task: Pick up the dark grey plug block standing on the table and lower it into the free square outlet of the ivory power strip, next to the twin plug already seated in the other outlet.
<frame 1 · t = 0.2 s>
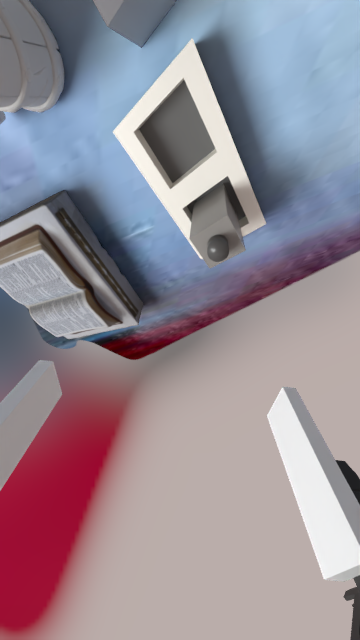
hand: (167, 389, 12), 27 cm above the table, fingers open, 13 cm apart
bible: (74, 270, 41), on the table
mug: (22, 76, 22), on the table
twin plug: (215, 208, 29), resting on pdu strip
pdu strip: (199, 174, 27), on the table
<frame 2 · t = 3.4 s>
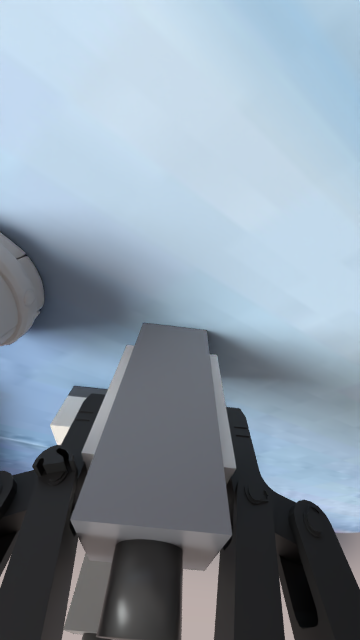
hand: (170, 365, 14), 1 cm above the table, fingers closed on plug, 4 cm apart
plug: (172, 351, 15), on the table, touching gripper
twin plug: (131, 477, 24), resting on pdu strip
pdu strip: (132, 447, 22), on the table
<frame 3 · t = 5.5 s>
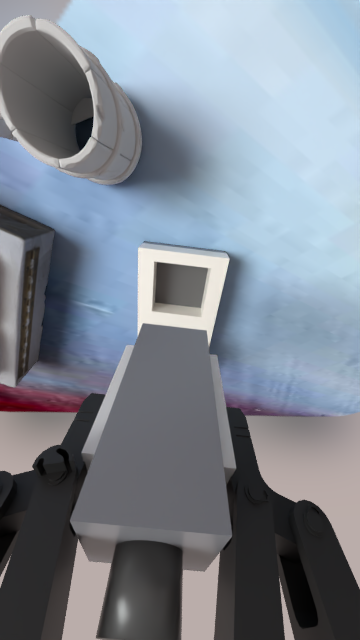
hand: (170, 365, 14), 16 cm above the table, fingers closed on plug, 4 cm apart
plug: (171, 351, 15), point 15 cm above the table, touching gripper
mug: (86, 139, 21), on the table
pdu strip: (177, 310, 30), on the table
when the fingers open (5 cm above the table, at t = 7.5 s): plug drops 3 cm, resting on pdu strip.
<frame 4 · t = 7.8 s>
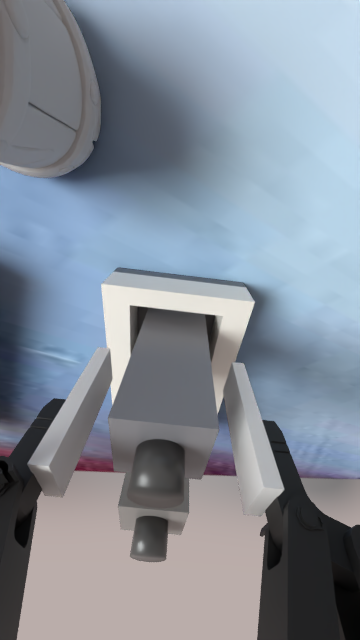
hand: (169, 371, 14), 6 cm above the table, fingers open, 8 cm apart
plug: (174, 329, 18), point 1 cm above the table, touching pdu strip
mug: (4, 96, 12), on the table
twin plug: (166, 397, 22), resting on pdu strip
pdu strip: (170, 360, 21), on the table
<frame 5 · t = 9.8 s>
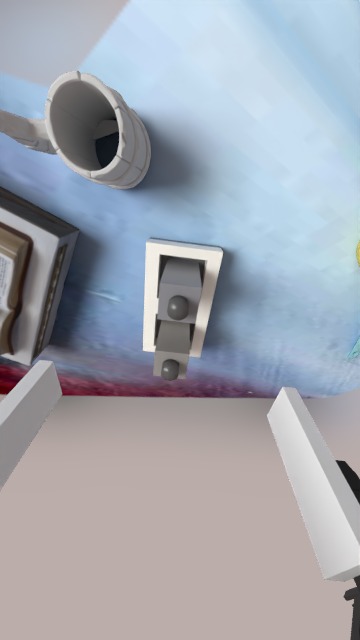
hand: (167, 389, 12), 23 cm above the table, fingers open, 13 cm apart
plug: (181, 274, 31), point 1 cm above the table, touching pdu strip
bible: (5, 268, 33), on the table
mug: (104, 151, 25), on the table
twin plug: (175, 324, 36), resting on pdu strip
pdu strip: (178, 298, 34), on the table
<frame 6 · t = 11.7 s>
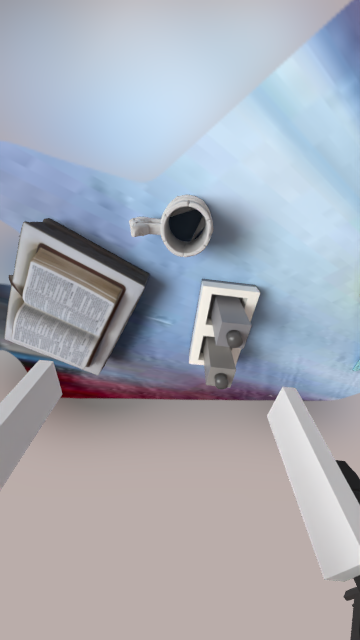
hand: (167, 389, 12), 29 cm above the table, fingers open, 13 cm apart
plug: (224, 305, 40), point 1 cm above the table, touching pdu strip
bible: (83, 298, 42), on the table
mug: (174, 221, 34), on the table
twin plug: (214, 342, 45), resting on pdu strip
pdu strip: (218, 322, 43), on the table
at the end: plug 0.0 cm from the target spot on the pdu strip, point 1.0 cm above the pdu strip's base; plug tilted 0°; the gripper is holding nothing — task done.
